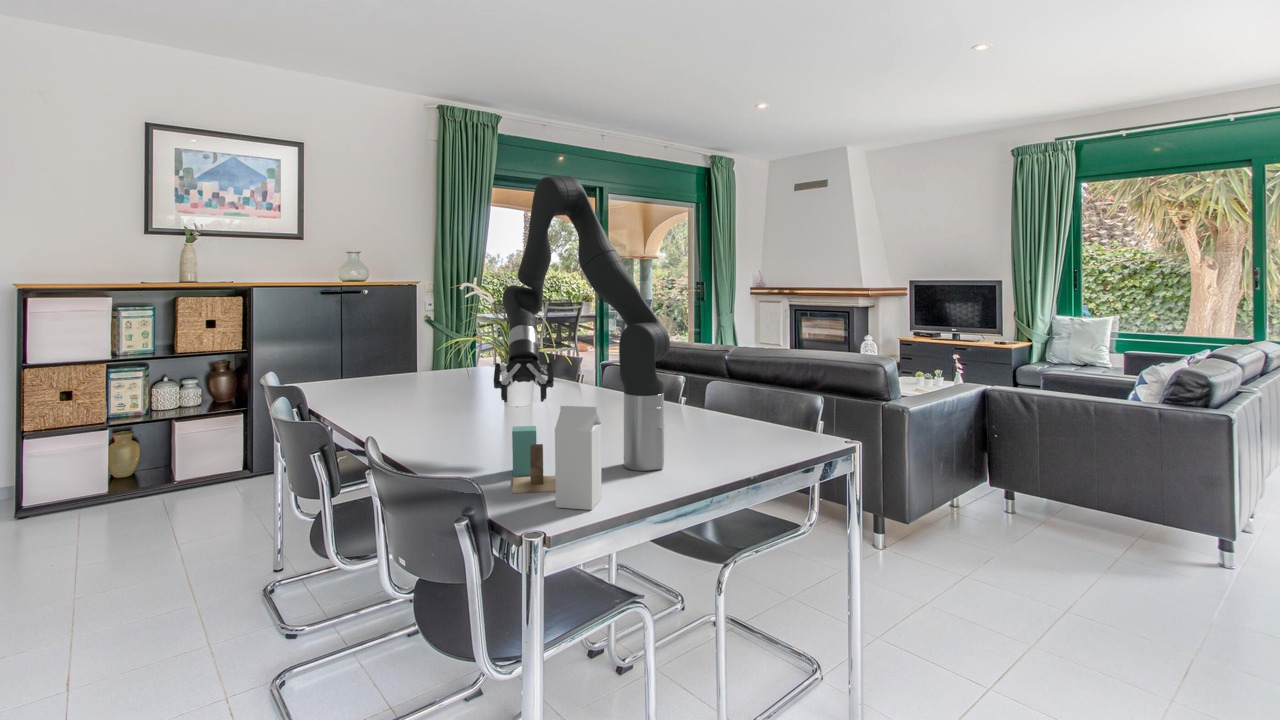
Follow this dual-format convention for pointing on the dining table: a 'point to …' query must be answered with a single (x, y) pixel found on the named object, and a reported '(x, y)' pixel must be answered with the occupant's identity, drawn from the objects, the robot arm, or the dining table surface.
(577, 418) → the milk carton
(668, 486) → the dining table surface
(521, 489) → the post
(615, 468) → the dining table surface
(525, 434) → the tall teal foam brick
